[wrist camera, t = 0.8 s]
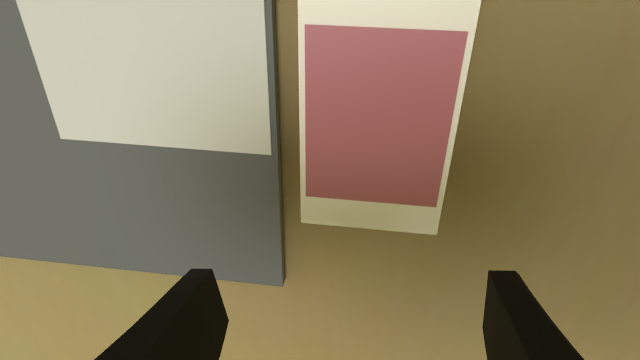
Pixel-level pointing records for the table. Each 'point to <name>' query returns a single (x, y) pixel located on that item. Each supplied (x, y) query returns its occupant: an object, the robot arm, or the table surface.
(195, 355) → the robot arm
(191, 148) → the mat
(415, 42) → the card deck
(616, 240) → the table surface
